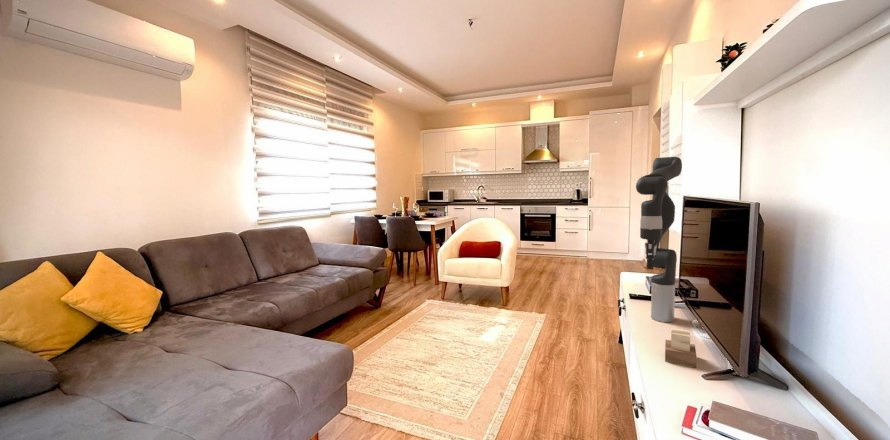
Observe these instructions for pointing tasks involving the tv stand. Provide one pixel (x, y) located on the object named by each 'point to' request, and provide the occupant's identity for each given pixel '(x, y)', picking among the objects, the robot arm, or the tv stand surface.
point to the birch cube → (680, 339)
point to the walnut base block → (680, 355)
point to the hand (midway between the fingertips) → (650, 266)
